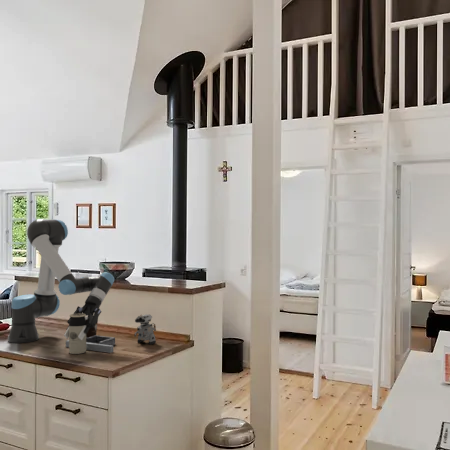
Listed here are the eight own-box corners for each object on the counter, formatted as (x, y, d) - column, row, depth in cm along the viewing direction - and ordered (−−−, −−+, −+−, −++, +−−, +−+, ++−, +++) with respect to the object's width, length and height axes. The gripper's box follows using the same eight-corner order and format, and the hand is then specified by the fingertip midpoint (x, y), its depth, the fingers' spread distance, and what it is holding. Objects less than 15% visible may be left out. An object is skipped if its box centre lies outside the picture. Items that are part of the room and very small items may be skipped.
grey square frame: (79, 347, 249) (79, 340, 249) (95, 342, 261) (95, 335, 261) (99, 349, 244) (99, 342, 244) (115, 344, 255) (115, 337, 255)
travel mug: (77, 349, 245) (78, 312, 245) (89, 351, 241) (89, 314, 241) (65, 353, 238) (65, 315, 238) (77, 355, 234) (77, 316, 234)
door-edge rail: (65, 346, 250) (65, 340, 250) (68, 345, 252) (68, 340, 252) (110, 352, 238) (110, 346, 238) (113, 351, 240) (113, 345, 240)
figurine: (129, 345, 254) (129, 315, 254) (144, 340, 264) (145, 312, 264) (143, 347, 249) (143, 317, 249) (158, 343, 259) (158, 314, 259)
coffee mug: (88, 338, 269) (88, 320, 269) (78, 336, 274) (78, 318, 274) (105, 334, 278) (105, 317, 278) (95, 332, 283) (95, 315, 283)
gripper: (115, 305, 249) (93, 344, 234) (82, 302, 258) (59, 340, 243) (108, 296, 244) (86, 335, 229) (75, 293, 253) (51, 331, 238)
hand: (72, 337), depth 236 cm, fingers closed on travel mug, 8 cm apart
